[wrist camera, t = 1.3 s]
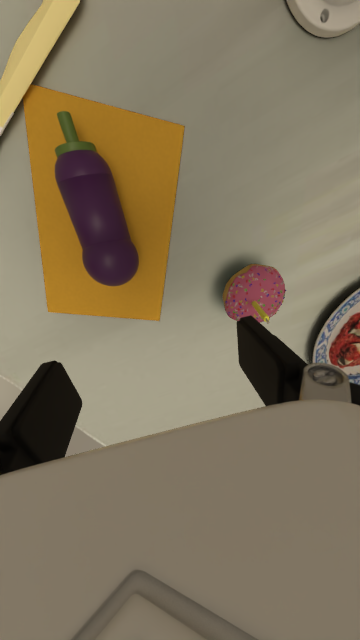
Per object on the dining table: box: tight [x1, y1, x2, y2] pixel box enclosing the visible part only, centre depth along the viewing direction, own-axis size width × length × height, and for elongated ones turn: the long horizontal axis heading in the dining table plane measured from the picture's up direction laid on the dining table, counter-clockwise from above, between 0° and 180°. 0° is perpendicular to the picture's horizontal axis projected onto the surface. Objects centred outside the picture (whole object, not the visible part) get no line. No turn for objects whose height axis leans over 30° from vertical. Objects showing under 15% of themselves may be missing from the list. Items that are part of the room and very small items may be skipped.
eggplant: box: [55, 111, 139, 286], centre depth 22 cm, size 16×6×6 cm, turn 11°
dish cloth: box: [23, 84, 185, 321], centre depth 26 cm, size 24×16×1 cm, turn 171°
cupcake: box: [223, 264, 286, 323], centre depth 27 cm, size 9×8×12 cm
